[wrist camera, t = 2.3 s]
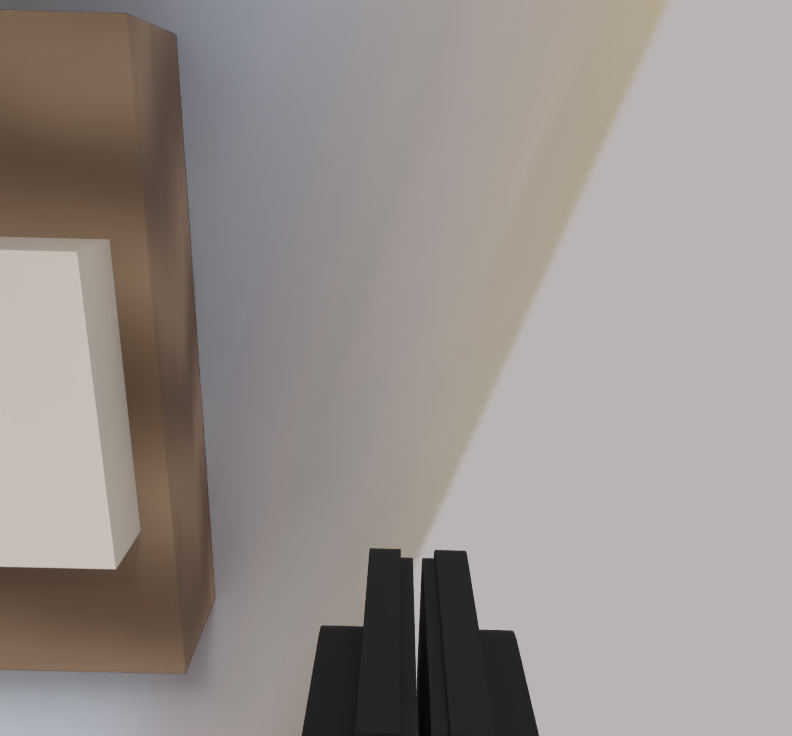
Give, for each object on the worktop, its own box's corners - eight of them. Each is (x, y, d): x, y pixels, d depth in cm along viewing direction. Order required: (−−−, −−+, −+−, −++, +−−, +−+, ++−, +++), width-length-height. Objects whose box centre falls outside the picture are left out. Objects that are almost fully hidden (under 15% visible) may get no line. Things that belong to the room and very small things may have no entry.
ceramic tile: (-115, 233, 19) (-173, 245, 17) (109, 239, 19) (76, 252, 17) (-54, 526, 21) (-97, 564, 20) (140, 530, 22) (115, 569, 20)
